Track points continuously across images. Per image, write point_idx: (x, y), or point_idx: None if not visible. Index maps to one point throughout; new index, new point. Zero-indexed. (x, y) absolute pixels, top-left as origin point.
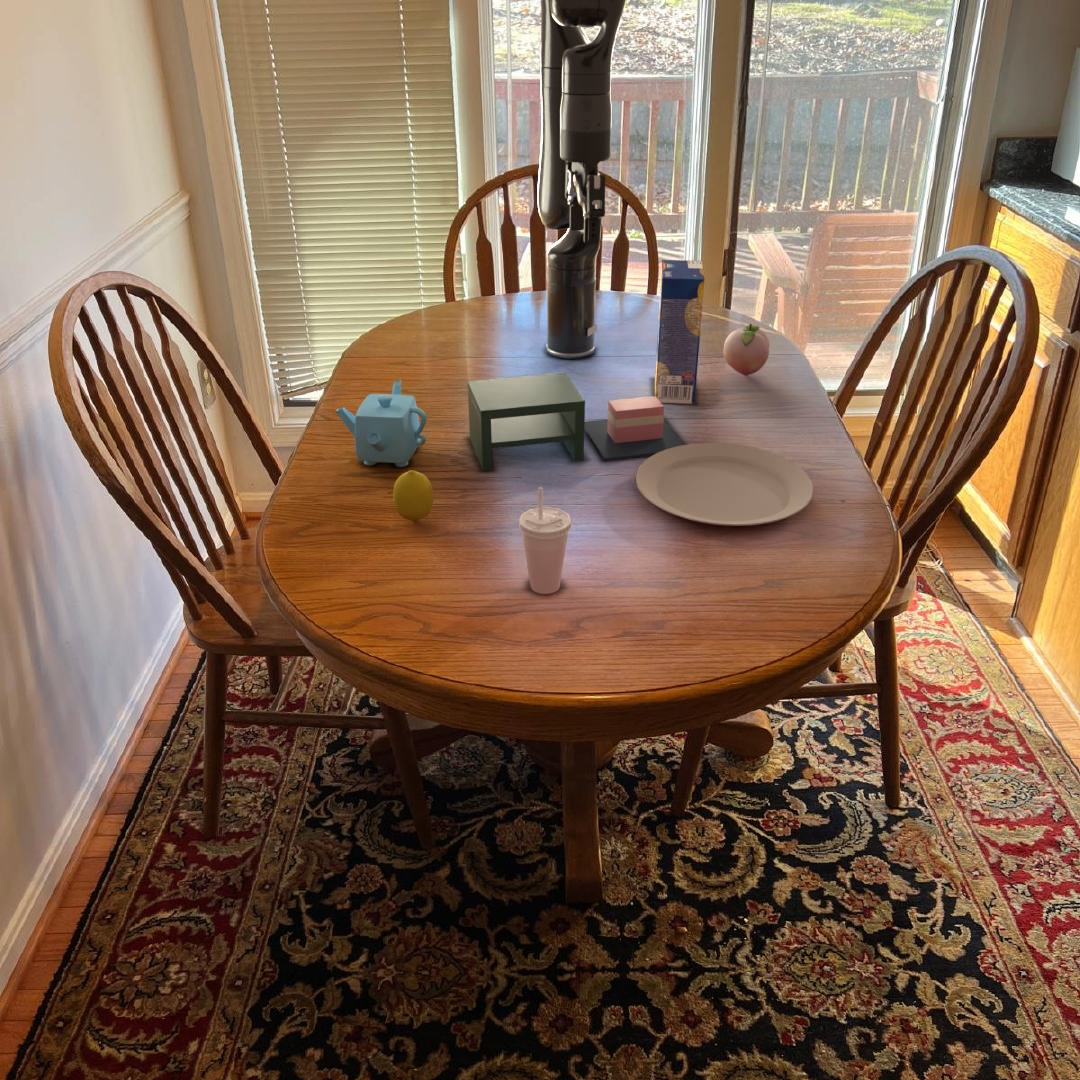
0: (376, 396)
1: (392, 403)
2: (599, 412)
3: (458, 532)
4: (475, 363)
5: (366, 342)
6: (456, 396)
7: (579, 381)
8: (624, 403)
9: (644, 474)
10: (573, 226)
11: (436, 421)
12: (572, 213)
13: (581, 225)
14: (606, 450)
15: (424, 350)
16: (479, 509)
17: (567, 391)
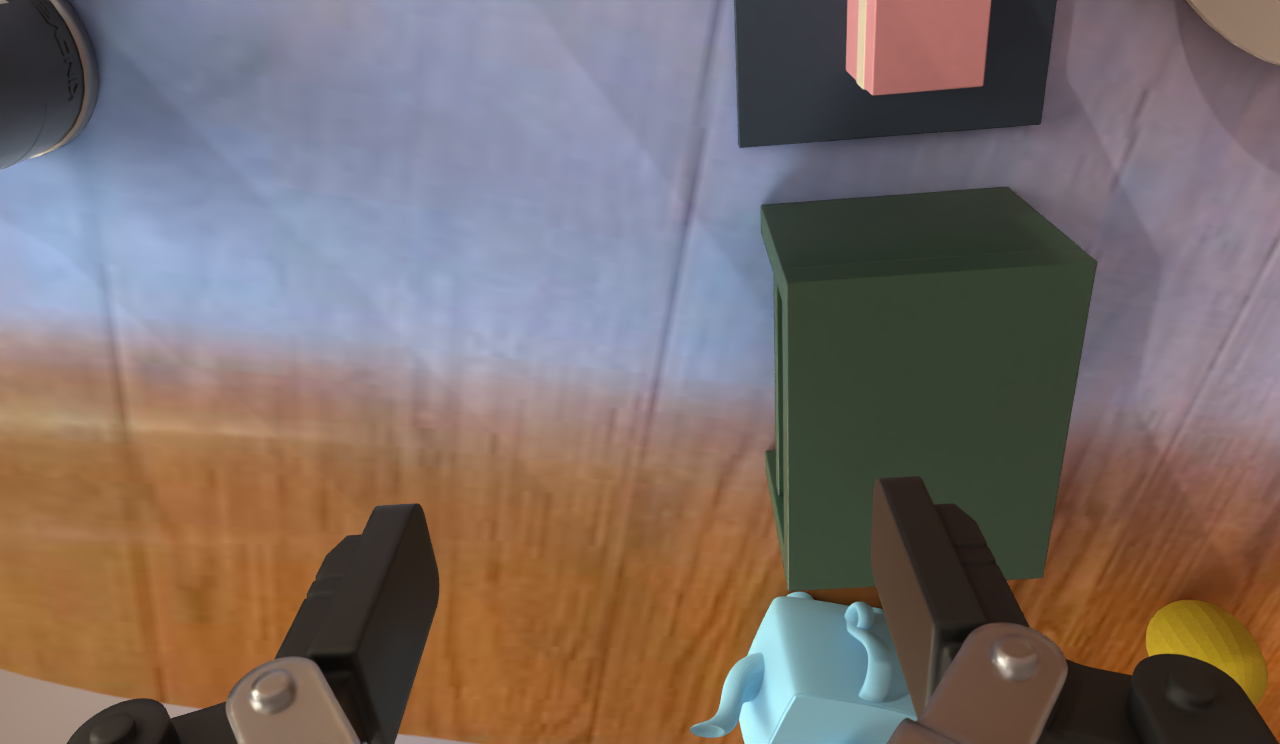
0: None
1: (839, 739)
2: (643, 55)
3: (1260, 533)
4: (176, 407)
5: (32, 669)
6: (458, 480)
7: (336, 75)
8: (919, 33)
9: (1268, 28)
10: (428, 594)
11: (633, 538)
12: (403, 692)
13: (412, 538)
14: (986, 104)
15: (75, 537)
16: (1175, 485)
17: (982, 307)
